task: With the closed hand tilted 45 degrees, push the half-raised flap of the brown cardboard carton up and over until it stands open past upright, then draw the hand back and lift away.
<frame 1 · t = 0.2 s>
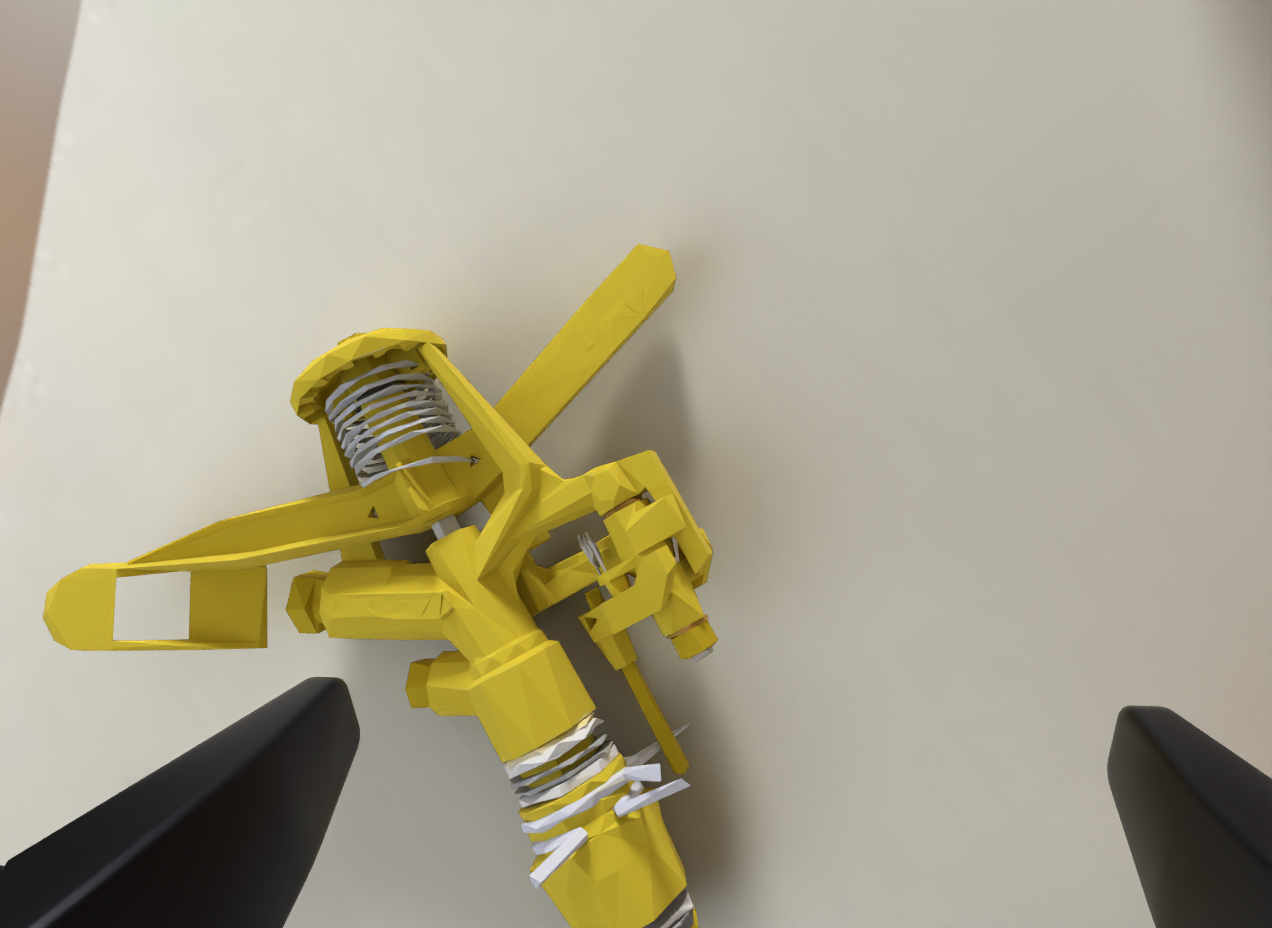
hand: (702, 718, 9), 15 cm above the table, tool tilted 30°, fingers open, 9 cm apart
sprinkler: (486, 643, 25), on the table
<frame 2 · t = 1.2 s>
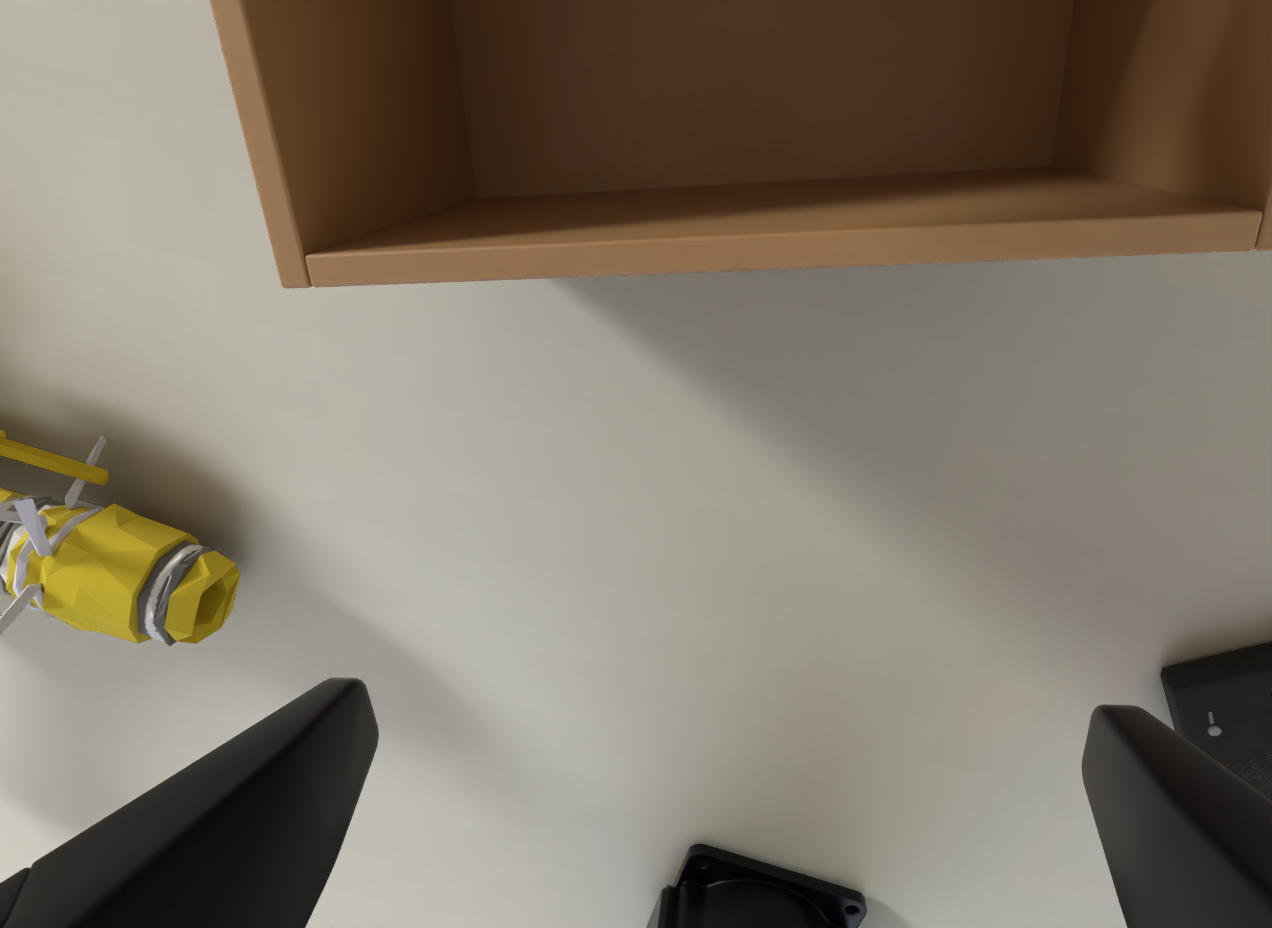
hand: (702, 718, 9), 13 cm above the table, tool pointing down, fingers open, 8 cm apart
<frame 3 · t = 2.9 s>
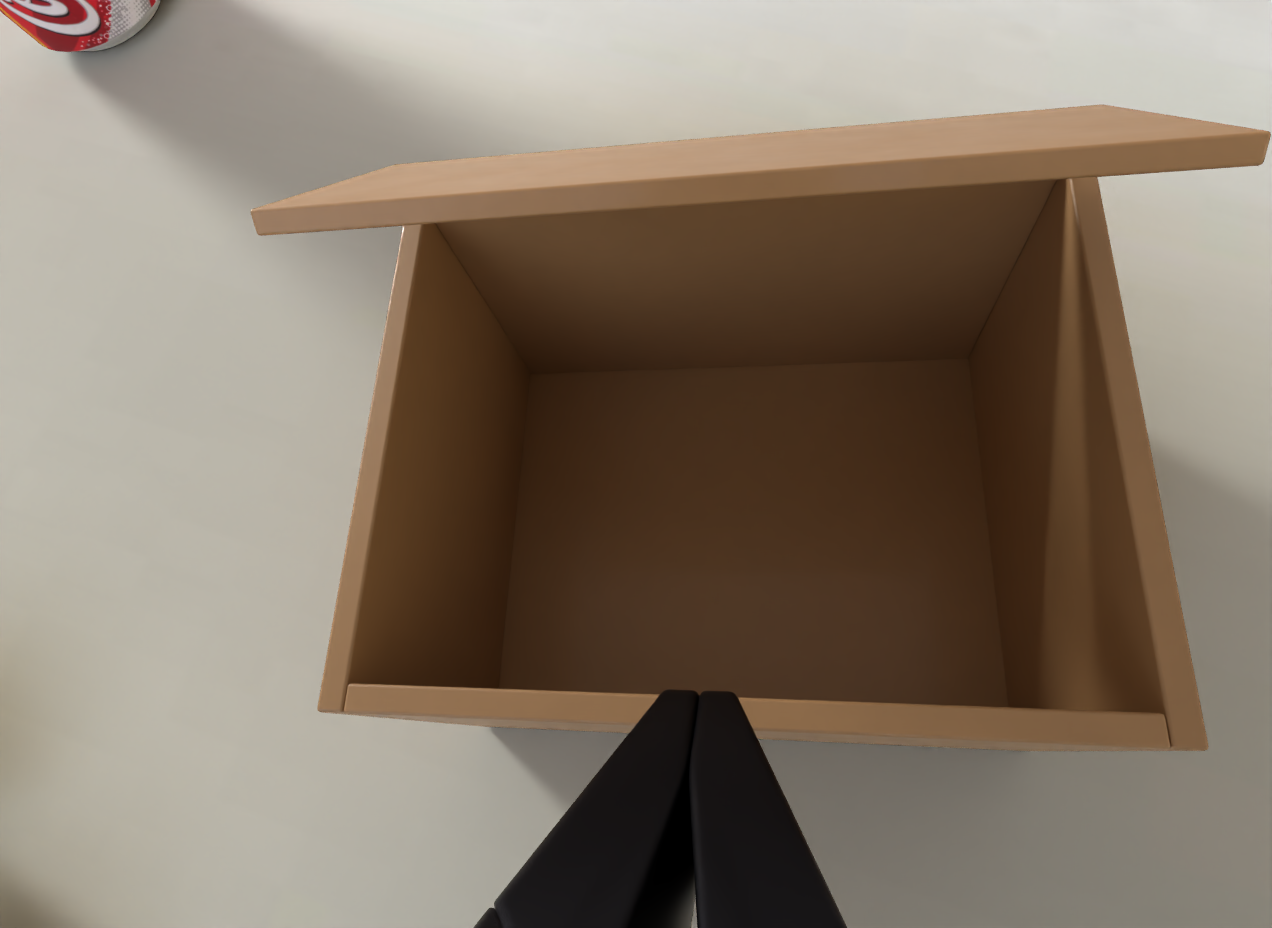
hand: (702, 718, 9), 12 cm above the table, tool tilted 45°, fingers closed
carton: (740, 533, 22), on the table
soda can: (114, 13, 35), on the table
carton flap: (715, 164, 13), point 11 cm above the table, hinge at 42.0°
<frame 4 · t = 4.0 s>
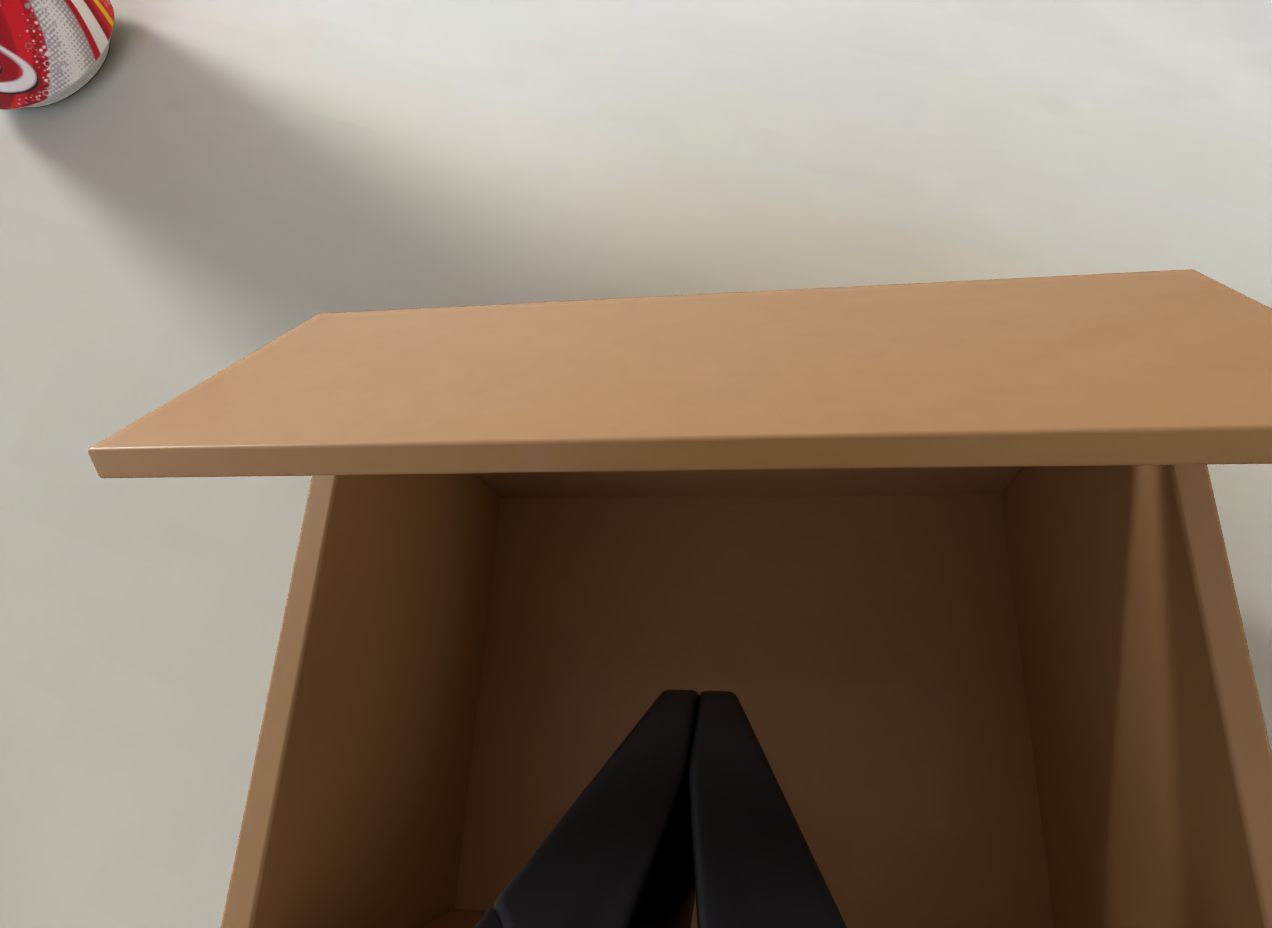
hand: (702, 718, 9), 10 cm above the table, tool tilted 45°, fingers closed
carton: (738, 695, 19), on the table
soda can: (59, 64, 32), on the table
carton flap: (704, 362, 10), point 11 cm above the table, hinge at 42.0°
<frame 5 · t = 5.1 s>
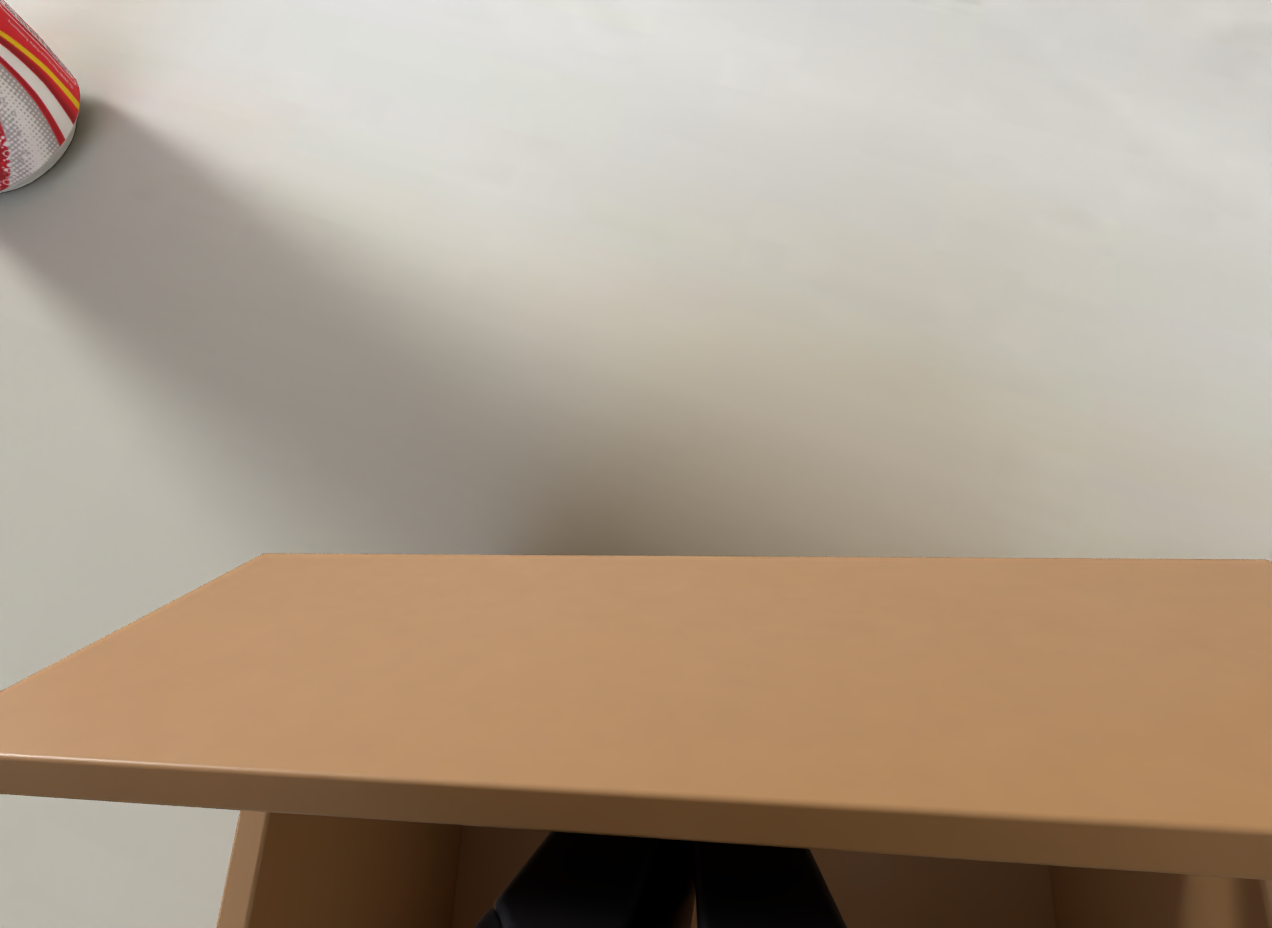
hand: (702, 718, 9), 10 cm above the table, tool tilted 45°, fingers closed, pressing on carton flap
carton: (737, 896, 17), on the table
soda can: (23, 145, 31), on the table
carton flap: (695, 654, 8), point 11 cm above the table, hinge at 57.3°, touching gripper
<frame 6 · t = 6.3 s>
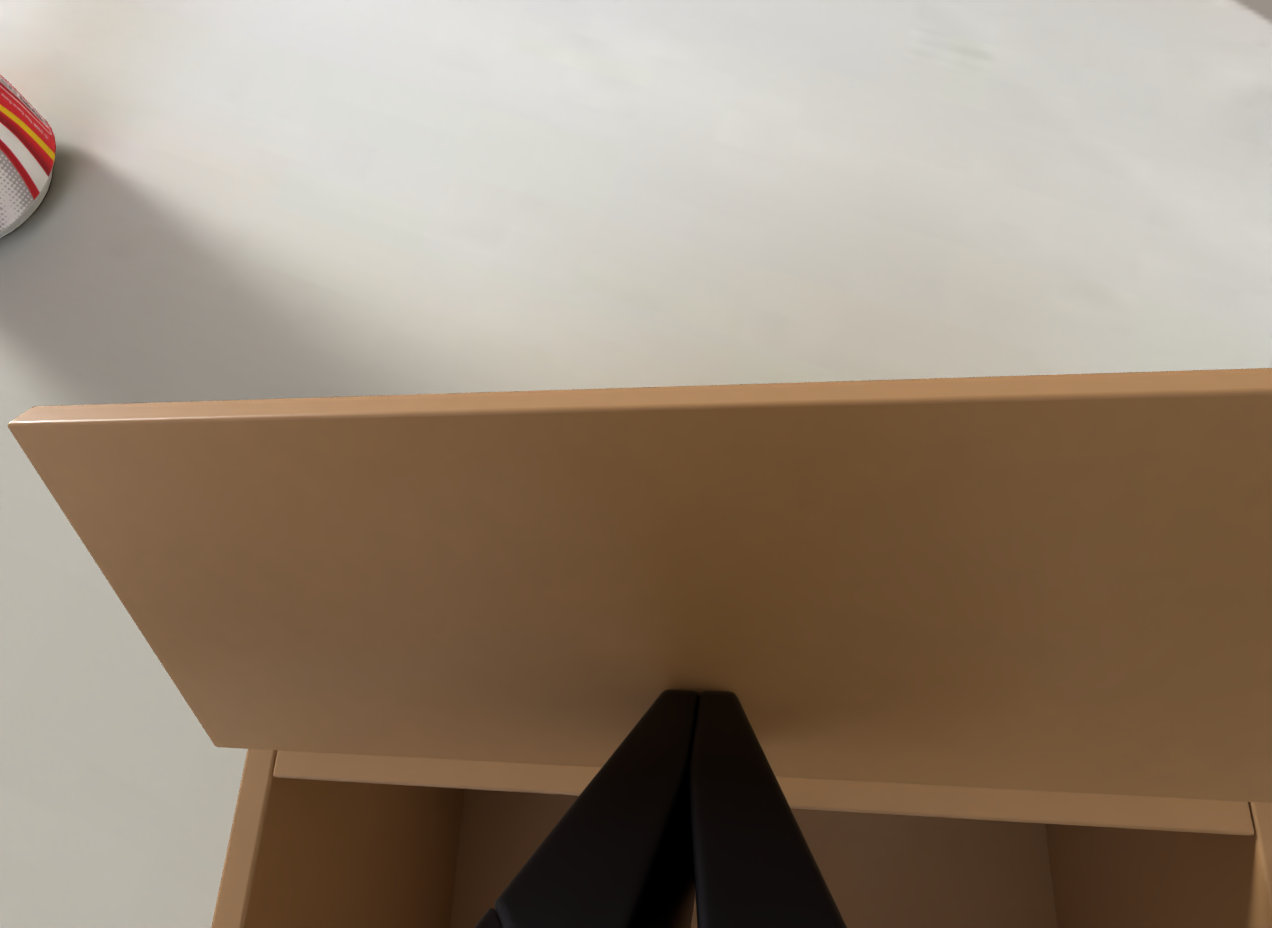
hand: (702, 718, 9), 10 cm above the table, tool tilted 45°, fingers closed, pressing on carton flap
carton flap: (695, 609, 8), point 11 cm above the table, hinge at 125.7°, touching gripper
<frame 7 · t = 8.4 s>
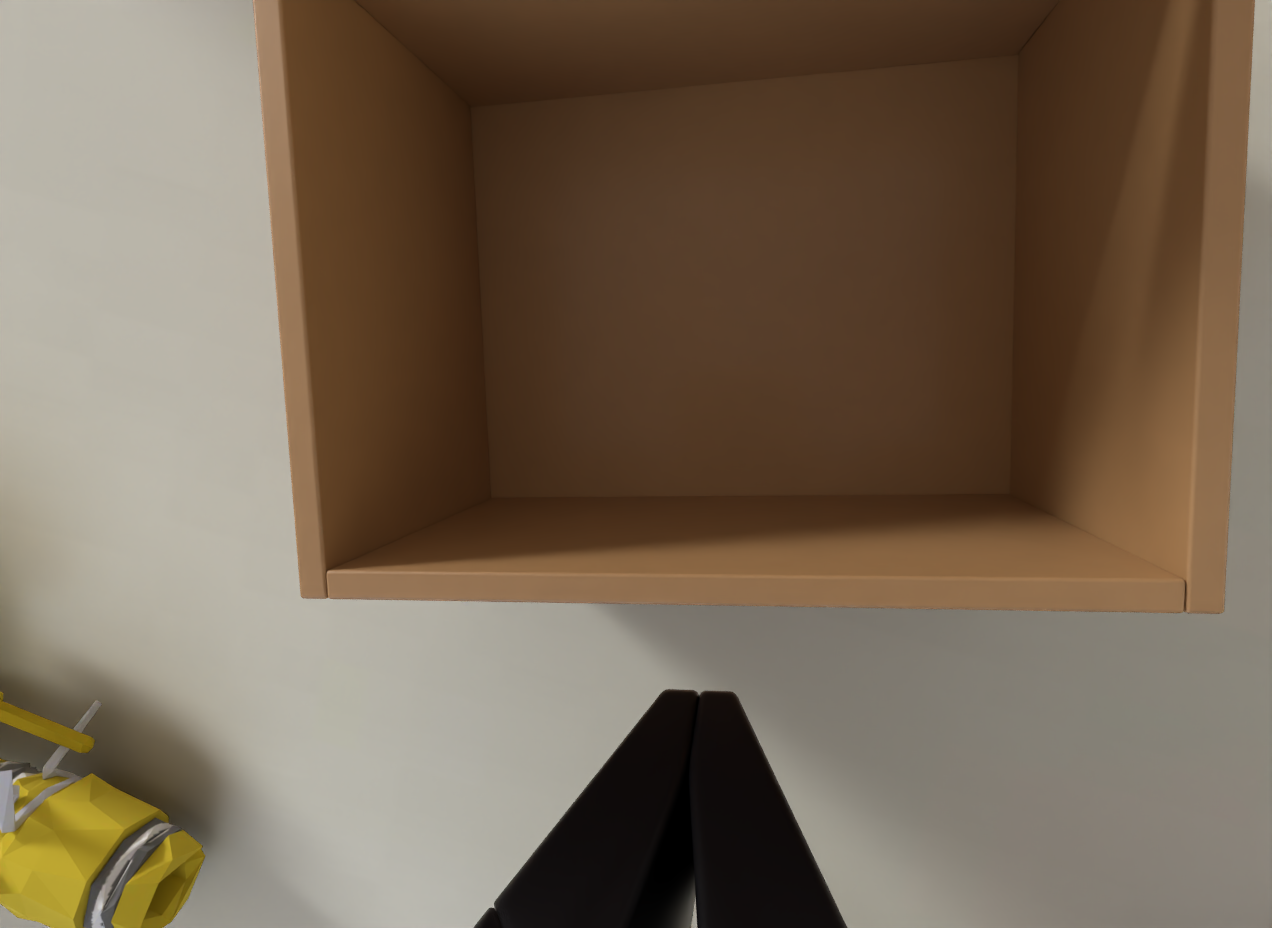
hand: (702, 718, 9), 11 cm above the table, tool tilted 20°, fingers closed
carton: (733, 297, 20), on the table
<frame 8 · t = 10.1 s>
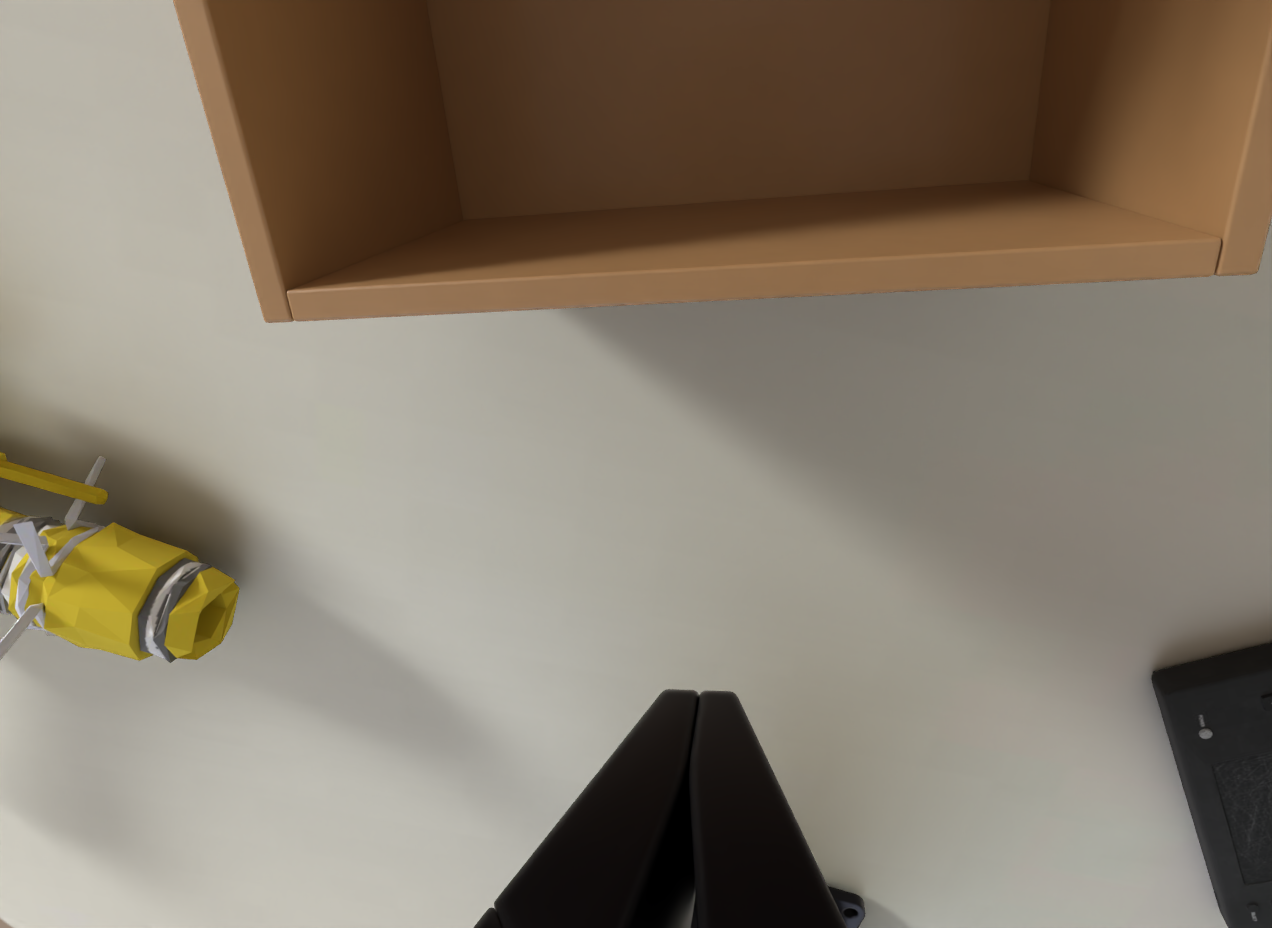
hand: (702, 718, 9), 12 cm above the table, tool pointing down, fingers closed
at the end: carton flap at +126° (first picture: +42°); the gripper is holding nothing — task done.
